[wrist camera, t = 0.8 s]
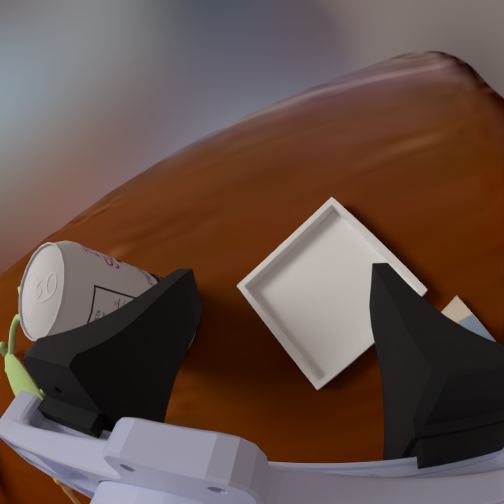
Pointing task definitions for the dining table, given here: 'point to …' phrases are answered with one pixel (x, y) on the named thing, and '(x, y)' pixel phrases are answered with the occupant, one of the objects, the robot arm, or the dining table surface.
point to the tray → (322, 291)
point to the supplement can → (75, 288)
